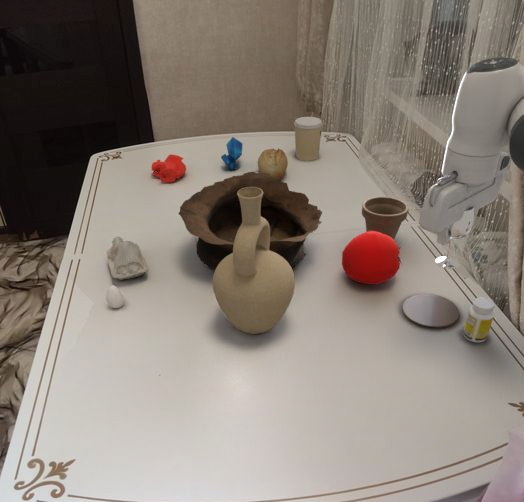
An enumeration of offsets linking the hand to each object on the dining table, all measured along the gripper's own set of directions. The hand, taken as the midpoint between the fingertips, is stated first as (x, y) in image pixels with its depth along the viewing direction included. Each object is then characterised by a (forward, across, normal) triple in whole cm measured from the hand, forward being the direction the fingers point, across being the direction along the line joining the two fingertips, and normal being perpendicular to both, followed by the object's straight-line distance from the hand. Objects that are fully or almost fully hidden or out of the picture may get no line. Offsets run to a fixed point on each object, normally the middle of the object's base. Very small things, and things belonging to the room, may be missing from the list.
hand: (453, 236), depth 102 cm
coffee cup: (+21, +48, +86) cm, 100 cm away
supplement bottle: (+21, +3, -8) cm, 23 cm away
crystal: (+21, +24, +97) cm, 102 cm away
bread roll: (+21, +29, +82) cm, 90 cm away
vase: (+21, -27, +26) cm, 43 cm away
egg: (+21, -46, +53) cm, 73 cm away
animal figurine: (+21, +5, +106) cm, 109 cm away
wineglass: (+6, 0, 0) cm, 6 cm away
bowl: (+21, -9, +49) cm, 54 cm away
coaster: (+21, +4, +3) cm, 22 cm away
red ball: (+21, +4, +21) cm, 30 cm away
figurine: (+21, -36, +64) cm, 76 cm away
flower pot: (+21, +20, +31) cm, 42 cm away
